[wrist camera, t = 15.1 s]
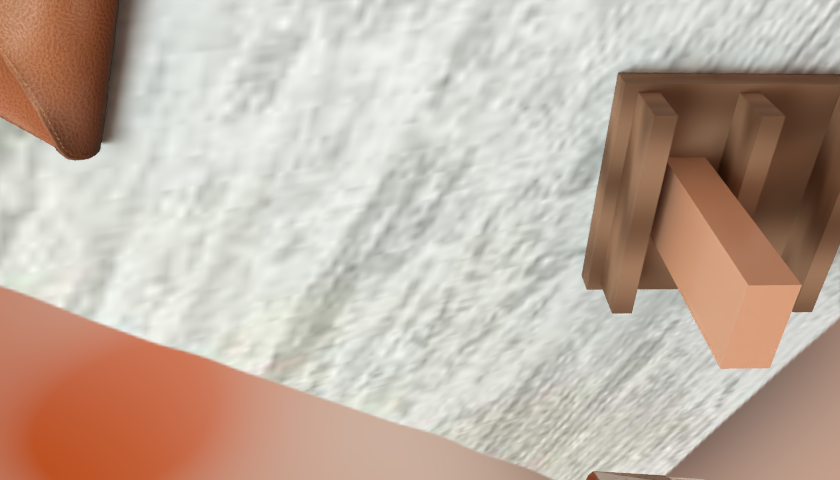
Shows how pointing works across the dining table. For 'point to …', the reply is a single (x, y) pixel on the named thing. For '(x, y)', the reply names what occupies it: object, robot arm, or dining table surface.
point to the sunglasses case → (57, 70)
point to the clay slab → (722, 265)
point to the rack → (719, 171)
